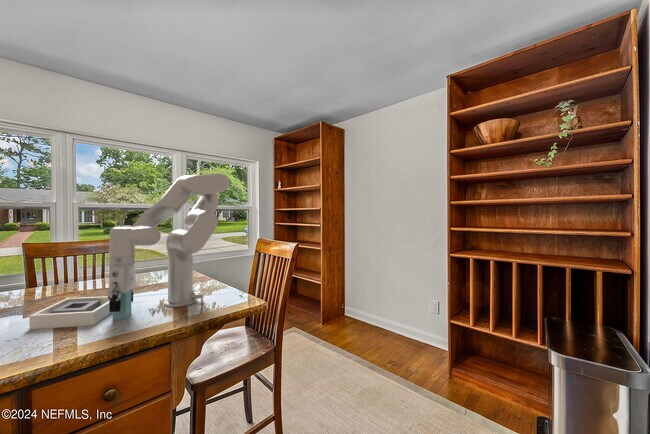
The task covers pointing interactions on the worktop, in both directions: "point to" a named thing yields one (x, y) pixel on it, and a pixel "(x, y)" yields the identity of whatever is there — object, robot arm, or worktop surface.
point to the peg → (123, 306)
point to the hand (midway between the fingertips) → (121, 306)
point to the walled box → (71, 313)
